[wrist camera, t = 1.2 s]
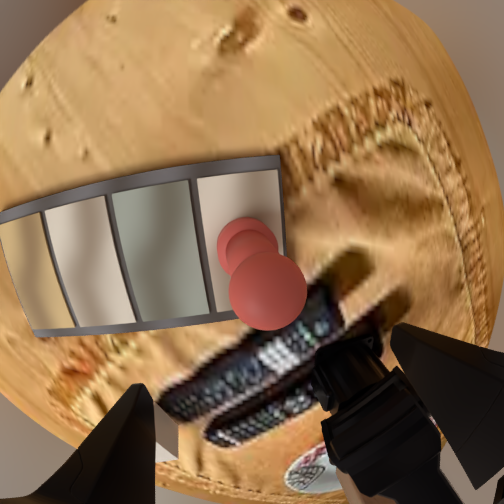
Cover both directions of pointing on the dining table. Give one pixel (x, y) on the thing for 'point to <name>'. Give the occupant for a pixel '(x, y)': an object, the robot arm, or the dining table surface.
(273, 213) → the board
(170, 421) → the die
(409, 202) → the dining table surface
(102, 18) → the dining table surface
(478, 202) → the dining table surface
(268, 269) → the pawn
